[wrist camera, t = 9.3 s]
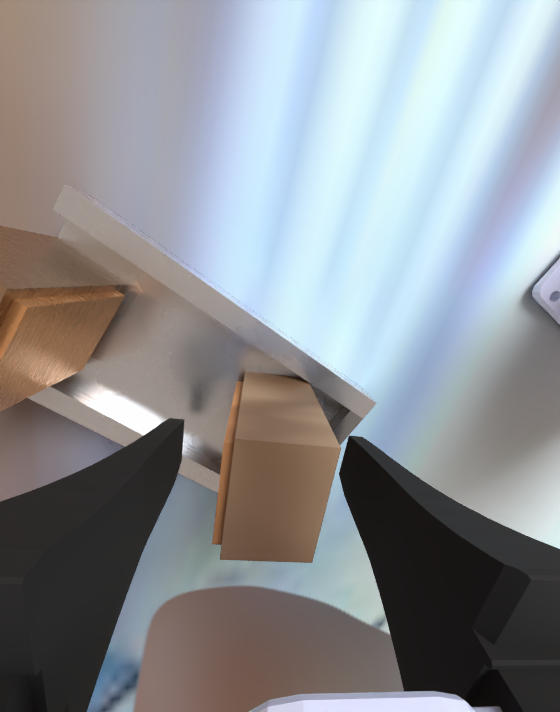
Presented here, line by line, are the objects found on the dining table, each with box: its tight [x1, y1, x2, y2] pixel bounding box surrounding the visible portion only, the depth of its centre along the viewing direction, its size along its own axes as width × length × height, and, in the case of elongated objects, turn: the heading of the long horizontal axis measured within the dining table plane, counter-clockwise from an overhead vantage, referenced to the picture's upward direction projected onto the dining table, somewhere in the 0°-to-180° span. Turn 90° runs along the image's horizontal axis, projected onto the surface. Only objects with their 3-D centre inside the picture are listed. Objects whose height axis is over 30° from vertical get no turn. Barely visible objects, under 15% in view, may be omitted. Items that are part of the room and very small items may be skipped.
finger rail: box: [0, 184, 376, 493], centre depth 10 cm, size 15×8×6 cm, turn 54°
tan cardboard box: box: [212, 371, 341, 563], centre depth 10 cm, size 3×4×6 cm
